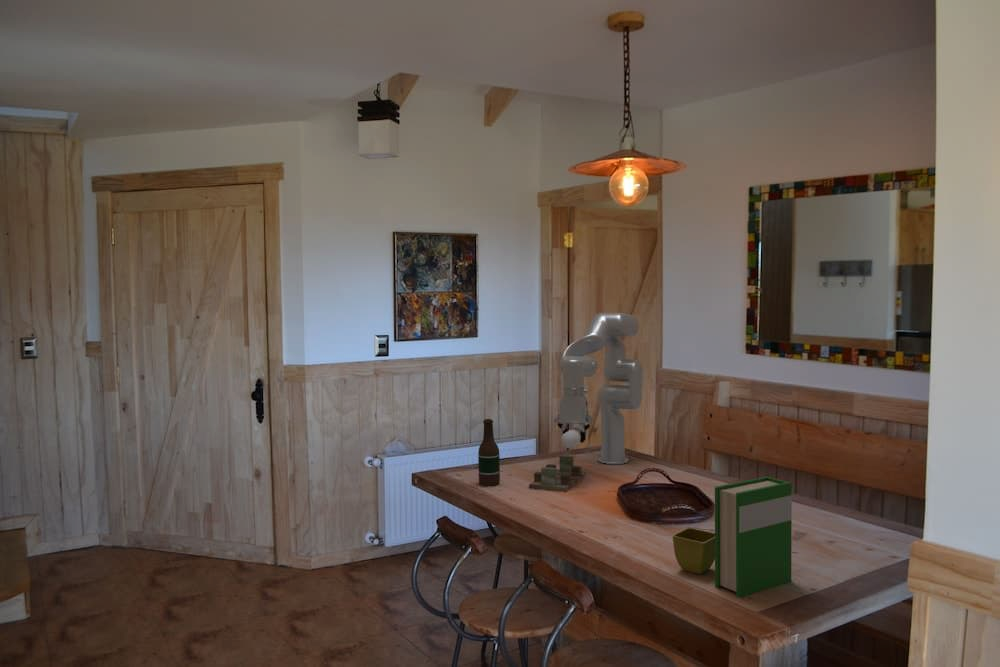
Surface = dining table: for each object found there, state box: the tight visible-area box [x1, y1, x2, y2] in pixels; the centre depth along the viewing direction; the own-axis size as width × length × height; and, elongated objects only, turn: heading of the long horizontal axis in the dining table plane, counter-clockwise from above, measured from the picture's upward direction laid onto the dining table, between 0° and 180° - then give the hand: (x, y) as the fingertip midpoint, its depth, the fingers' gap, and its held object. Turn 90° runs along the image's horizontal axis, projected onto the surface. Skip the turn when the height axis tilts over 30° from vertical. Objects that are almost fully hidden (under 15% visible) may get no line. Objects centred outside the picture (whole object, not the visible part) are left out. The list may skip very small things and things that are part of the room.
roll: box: [560, 424, 588, 449], centre depth 278 cm, size 16×6×6 cm, turn 159°
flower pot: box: [672, 527, 715, 575], centre depth 190 cm, size 9×9×9 cm
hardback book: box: [714, 476, 793, 599], centre depth 180 cm, size 18×7×24 cm, turn 120°
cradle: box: [528, 454, 587, 493], centre depth 281 cm, size 25×14×8 cm, turn 158°
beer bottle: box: [477, 418, 501, 487], centre depth 279 cm, size 8×8×24 cm
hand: (574, 441), depth 278 cm, fingers closed on roll, 5 cm apart
